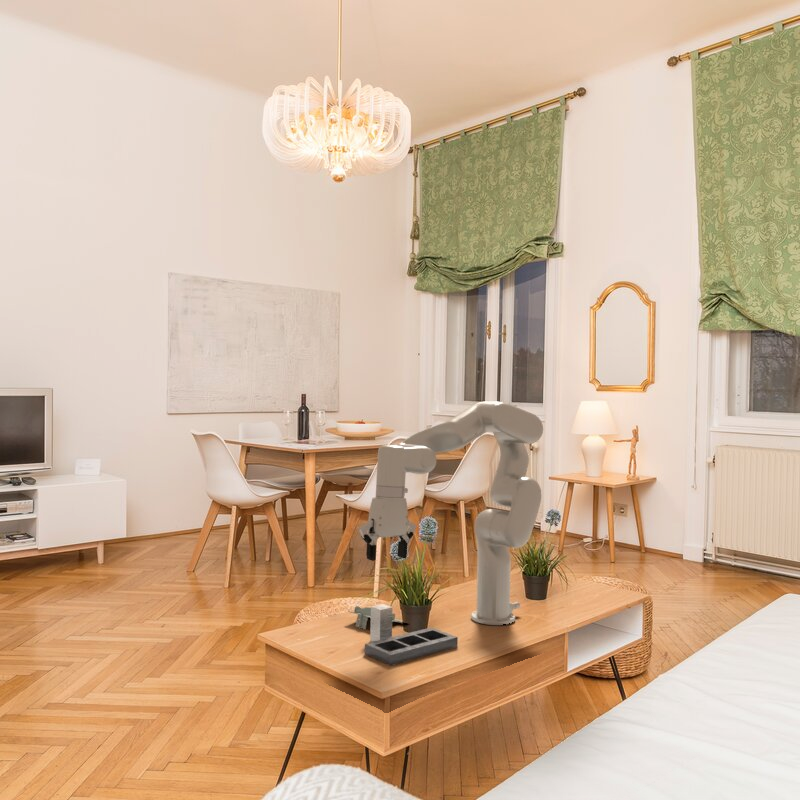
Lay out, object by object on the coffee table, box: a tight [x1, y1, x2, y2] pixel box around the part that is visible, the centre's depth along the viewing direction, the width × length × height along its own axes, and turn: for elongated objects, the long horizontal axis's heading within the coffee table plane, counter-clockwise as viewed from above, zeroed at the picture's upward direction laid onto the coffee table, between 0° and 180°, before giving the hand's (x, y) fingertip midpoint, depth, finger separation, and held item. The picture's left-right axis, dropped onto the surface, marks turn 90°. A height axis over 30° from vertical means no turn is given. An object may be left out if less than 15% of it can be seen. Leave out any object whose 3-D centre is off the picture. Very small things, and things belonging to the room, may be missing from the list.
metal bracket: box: [348, 605, 403, 630], centre depth 203 cm, size 14×6×15 cm
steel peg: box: [369, 603, 393, 642], centre depth 187 cm, size 4×4×9 cm
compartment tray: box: [364, 627, 458, 667], centre depth 181 cm, size 22×10×2 cm, turn 130°
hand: (386, 558), depth 188 cm, fingers open, 9 cm apart
